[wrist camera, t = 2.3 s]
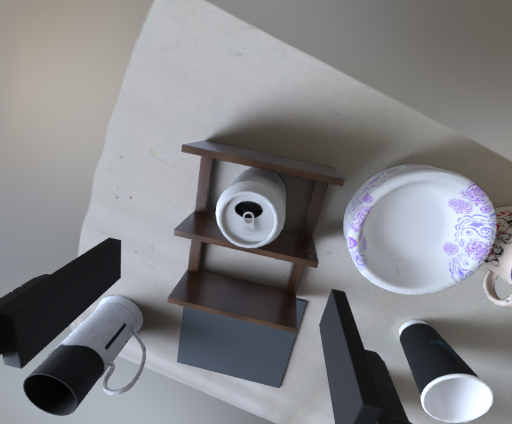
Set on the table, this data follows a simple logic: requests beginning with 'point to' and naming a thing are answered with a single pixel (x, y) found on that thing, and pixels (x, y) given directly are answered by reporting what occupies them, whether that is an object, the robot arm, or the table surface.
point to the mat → (236, 346)
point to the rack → (282, 247)
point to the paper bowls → (419, 228)
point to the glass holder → (85, 357)
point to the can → (252, 208)
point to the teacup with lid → (500, 257)
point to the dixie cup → (443, 376)
